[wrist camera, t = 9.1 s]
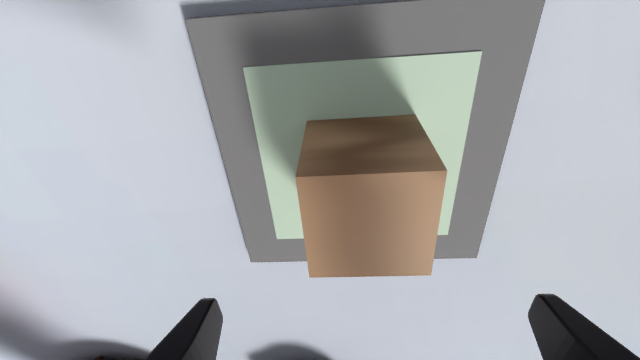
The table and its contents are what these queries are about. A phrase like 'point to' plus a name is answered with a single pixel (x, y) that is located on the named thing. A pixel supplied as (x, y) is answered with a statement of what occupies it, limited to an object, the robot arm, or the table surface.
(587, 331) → the robot arm
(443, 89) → the mat
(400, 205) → the cube
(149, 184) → the table surface
